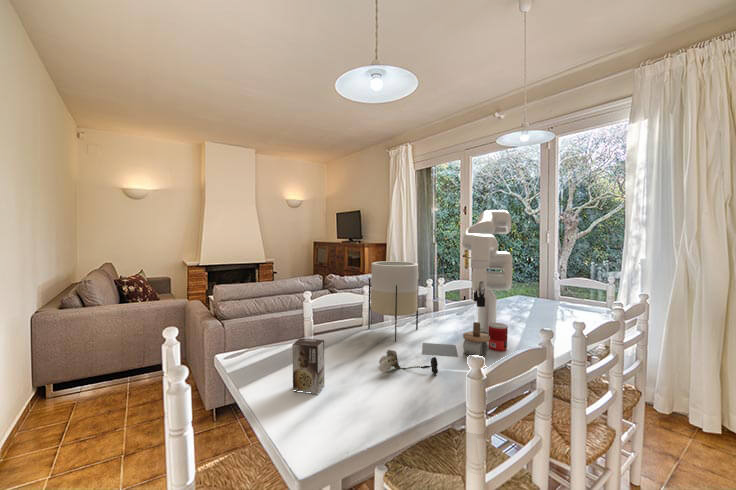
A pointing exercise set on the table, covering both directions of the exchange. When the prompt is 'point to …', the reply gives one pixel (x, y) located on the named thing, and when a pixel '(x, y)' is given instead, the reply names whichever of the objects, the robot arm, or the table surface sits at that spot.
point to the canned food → (498, 337)
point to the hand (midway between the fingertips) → (479, 303)
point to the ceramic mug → (475, 348)
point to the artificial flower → (393, 361)
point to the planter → (394, 289)
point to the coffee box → (308, 365)
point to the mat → (439, 349)
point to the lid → (476, 334)
